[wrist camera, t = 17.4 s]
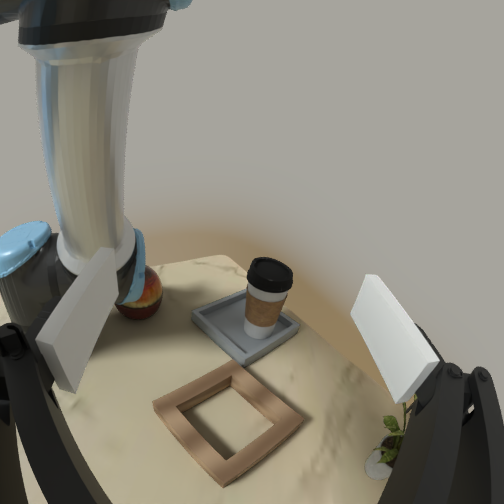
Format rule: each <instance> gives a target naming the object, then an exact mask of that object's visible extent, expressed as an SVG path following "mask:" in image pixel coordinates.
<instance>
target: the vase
mask: <svg viewBox="0 0 504 504" xmlns="http://www.w3.org/2000/svg"><path fill="white" fill-rule="evenodd" d="M144 274H145V282H144V289H143V293H142V295H141V297H140V298H139V299H138V300H137V301H134V302H127V303H124V304H121V305H118V304H115V306H116V307H117V309H118V310H119V311H120V312H121V313H122V314H123V315H124V316H126V317H128V318H131V319H145V318H148V317H150V316H151V315H153V314H154V313H155V312H156V311H157V309H158V308H159V306H160V303H161V300H162V294H163V289H162V283H161V280H160V278H159V276H158V275H157V273H156V272H155V271H154V270H153V269H152V268H150V267H149V266H146V265H145V272H144Z"/></svg>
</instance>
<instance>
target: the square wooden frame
mask: <svg viewBox="0 0 504 504" xmlns="http://www.w3.org/2000/svg"><path fill="white" fill-rule="evenodd" d="M229 385H230V386H231V387H232V388H234V389H235V390H236V391H237V392H238V393H239V394H240V395H241V396H242V397H243V398H244V399H246V400H247V401H248V402H249V403H250V404H251V405H252V406H253V407H254V408H256V409H257V410H258V411H259V412H260V413H261V414H263V415H264V416H265V417H266V418H267V419H268V420H270V421H271V422H272V423H273V424H274V425H273V426H272V427H271V428H270V429H268V430H267V431H266V432H264V433H263V434H262V435H261V436H259V437H258V438H257V439H255V440H254V441H253V442H251V443H250V444H249V445H247V446H246V447H245V448H243V449H242V450H241V451H239V452H238V453H236V454H235V455H234V456H232V457H231V458H229V459H228V460H225V459H224V458H223V457H222V456H221V455H220V454H219V453H218V452H217V451H216V450H215V449H214V448H213V447H212V446H211V445H210V444H209V443H208V442H207V441H206V440H205V439H204V438H203V437H202V436H201V435H200V434H199V433H198V432H197V430H196V429H195V428H194V427H193V426H192V425H191V424H190V423H189V422H188V420H187V419H186V418H185V417H184V416H183V415H182V412H184V411H186V410H188V409H190V408H192V407H193V406H195V405H197V404H199V403H201V402H202V401H204V400H206V399H208V398H209V397H211V396H213V395H214V394H216V393H218V392H220V391H221V390H223V389H225V388H226V387H228V386H229ZM152 403H153V407H154V411H155V413H156V414H157V415H158V417H159V418H160V419H161V420H162V422H163V423H164V424H165V426H166V427H167V428H168V429H169V431H170V432H171V433H172V434H173V435H174V437H175V438H176V439H177V440H178V441H179V443H180V444H181V445H182V446H183V447H184V448H185V450H186V451H187V452H188V453H189V454H190V455H191V456H192V457H193V458H194V460H195V461H196V462H197V463H198V464H199V465H200V466H201V467H202V468H203V469H204V470H205V471H206V472H207V473H208V474H209V475H210V476H211V477H212V478H213V479H214V480H215V481H216V482H217V483H218V484H219V485H220V486H221V487H222V488H224V487H225V486H227V485H228V484H230V483H231V482H232V481H234V480H235V479H237V478H238V477H239V476H241V475H242V474H243V473H245V472H246V471H248V470H249V469H250V468H251V467H253V466H254V465H255V464H257V463H258V462H259V461H260V460H262V459H263V458H264V457H265V456H267V455H268V454H269V453H270V452H272V451H273V450H274V449H275V448H276V447H278V446H279V445H280V444H281V443H282V442H283V441H284V440H286V439H287V438H288V437H289V436H290V435H291V434H292V433H293V432H295V431H296V430H297V429H298V428H299V427H300V425H301V424H302V422H303V421H304V418H303V417H302V416H300V415H299V414H298V413H297V412H295V411H294V410H293V409H291V408H290V407H289V406H288V405H286V404H285V403H284V402H283V401H281V400H280V399H279V398H278V397H276V396H275V395H274V394H273V393H272V392H270V391H269V390H268V389H267V388H266V387H264V386H263V385H262V384H261V383H260V382H258V381H257V380H256V379H255V378H254V377H253V376H251V375H250V374H249V373H248V372H247V371H246V370H245V369H243V368H242V367H241V366H240V365H239V364H238V363H237V362H236V361H235V360H231V361H229V362H227V363H226V364H224V365H222V366H220V367H218V368H217V369H215V370H213V371H211V372H209V373H207V374H206V375H204V376H202V377H200V378H198V379H196V380H194V381H192V382H190V383H188V384H187V385H185V386H183V387H181V388H179V389H177V390H175V391H173V392H171V393H169V394H167V395H165V396H163V397H160V398H158V399H156V400H154V401H152Z"/></svg>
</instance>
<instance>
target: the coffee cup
mask: <svg viewBox="0 0 504 504" xmlns="http://www.w3.org/2000/svg"><path fill="white" fill-rule="evenodd" d="M247 280H248V284H247V291H246V306H245V321H244V331H245V332H246V334H247V335H249V336H250V337H252V338H255V339H266V338H268V337H270V335H271V334H272V332H273V329H274V327H275V324H276V322H277V319H278V317H279V315H280V312H281V310H282V307H283V305H284V302H285V300H286V298H287V292H288V290H289V289H290V288H291V287H292V284H293V272H292V270H291V269H290V268H289V267H288V266H286V265H285V264H283V263H282V262H280V261H277V260H275V259H272V258H268V257H259V258H255V259H254V260H253V261H252V263H251V265H250V269H249V270H248V272H247Z"/></svg>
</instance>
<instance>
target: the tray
mask: <svg viewBox="0 0 504 504" xmlns="http://www.w3.org/2000/svg"><path fill="white" fill-rule="evenodd" d="M246 291H247V288H246V289H244V290H242V291H239V292H237V293H234V294H232V295H229V296H227V297H225V298H222V299H220V300H217V301H215V302H212V303H210V304H207V305H205V306H202V307H200V308H197V309H195V310H192V317H191V320H192V321H193V322H194V323H195V324H196V325H197V326H198V327H199V328H200V329H201V330H202V331H203V332H204V333H205V334H207V335H208V336H209V337H210V338H211V339H212V340H213V341H214V342H215V343H216V344H217V345H218V346H219V347H220V348H221V349H222V350H223V351H225V352H226V353H227V354H228V355H229V356H230V357H231V358H232V359H233V360H235V361H236V362H237V363H238V364H239V365H240V366H241V367H242V368H244V367H246V366H248V365H249V364H251V363H253V362H254V361H256V360H257V359H259V358H260V357H262V356H264V355H265V354H267V353H268V352H270V351H271V350H273V349H274V348H276V347H277V346H279V345H280V344H282V343H283V342H285V341H286V340H288V339H289V338H291V337H292V336H294V335H295V334H296V333H297V332H298V329H299V326H300V324H298V323H297V322H296V321H294V320H293V319H291V318H290V317H288V316H287V315H285V314H284V313H282V312H280V315H279V317H278V319H277V322H276V324H275V327H274V329H273V332H272V334H271V335H270V337H268V338H266V339H255V338H252V337H250V336H249V335H247V334H246V332H245V331H244V321H245V306H246Z"/></svg>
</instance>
